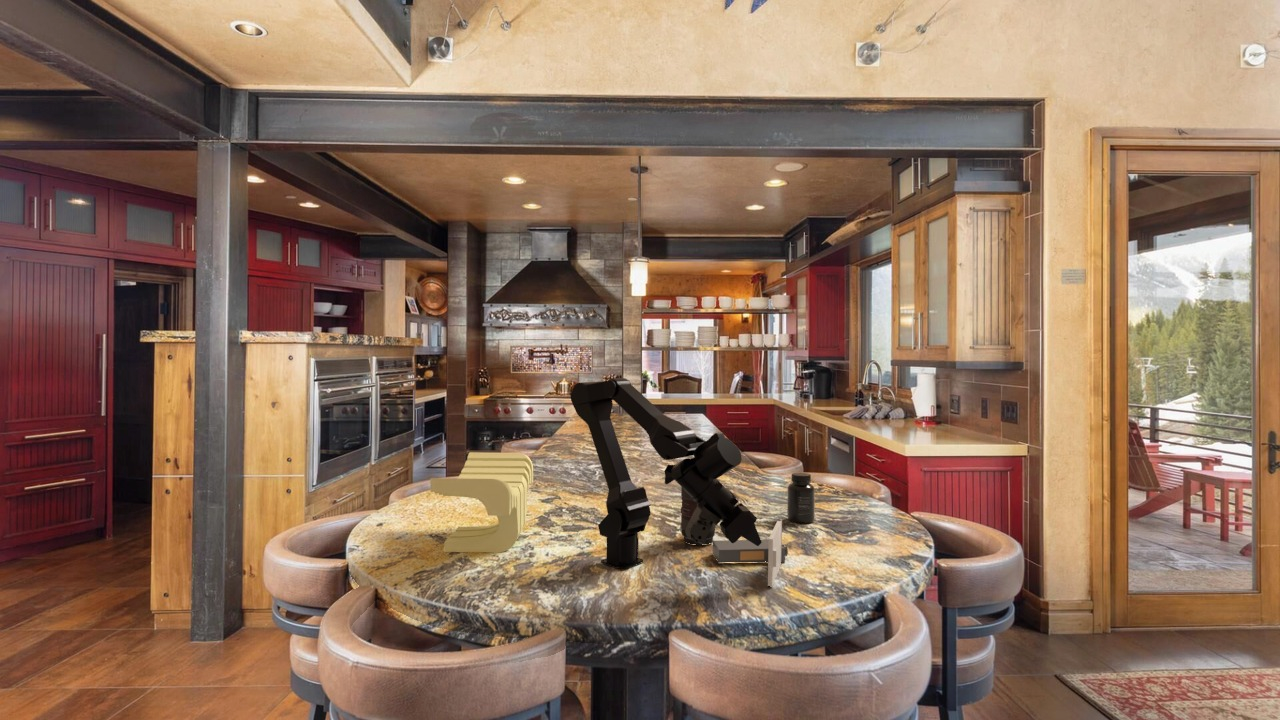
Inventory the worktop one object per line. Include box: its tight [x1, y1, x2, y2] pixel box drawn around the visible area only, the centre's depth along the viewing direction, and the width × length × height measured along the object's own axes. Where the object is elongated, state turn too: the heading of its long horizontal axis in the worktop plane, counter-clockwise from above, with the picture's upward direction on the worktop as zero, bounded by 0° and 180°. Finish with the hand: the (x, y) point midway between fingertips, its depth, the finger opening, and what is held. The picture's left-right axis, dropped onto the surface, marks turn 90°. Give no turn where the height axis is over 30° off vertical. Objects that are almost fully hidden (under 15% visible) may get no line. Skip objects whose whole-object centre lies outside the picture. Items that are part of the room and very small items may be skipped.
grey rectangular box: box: [712, 539, 789, 563], centre depth 133 cm, size 15×6×3 cm, turn 95°
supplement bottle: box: [787, 472, 816, 524], centre depth 162 cm, size 7×7×12 cm
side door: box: [767, 518, 783, 588], centre depth 124 cm, size 14×1×9 cm, turn 160°
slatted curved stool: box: [429, 451, 534, 553], centre depth 142 cm, size 30×16×18 cm, turn 1°
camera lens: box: [680, 486, 717, 545], centre depth 144 cm, size 8×8×15 cm
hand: (759, 543), depth 119 cm, fingers closed
